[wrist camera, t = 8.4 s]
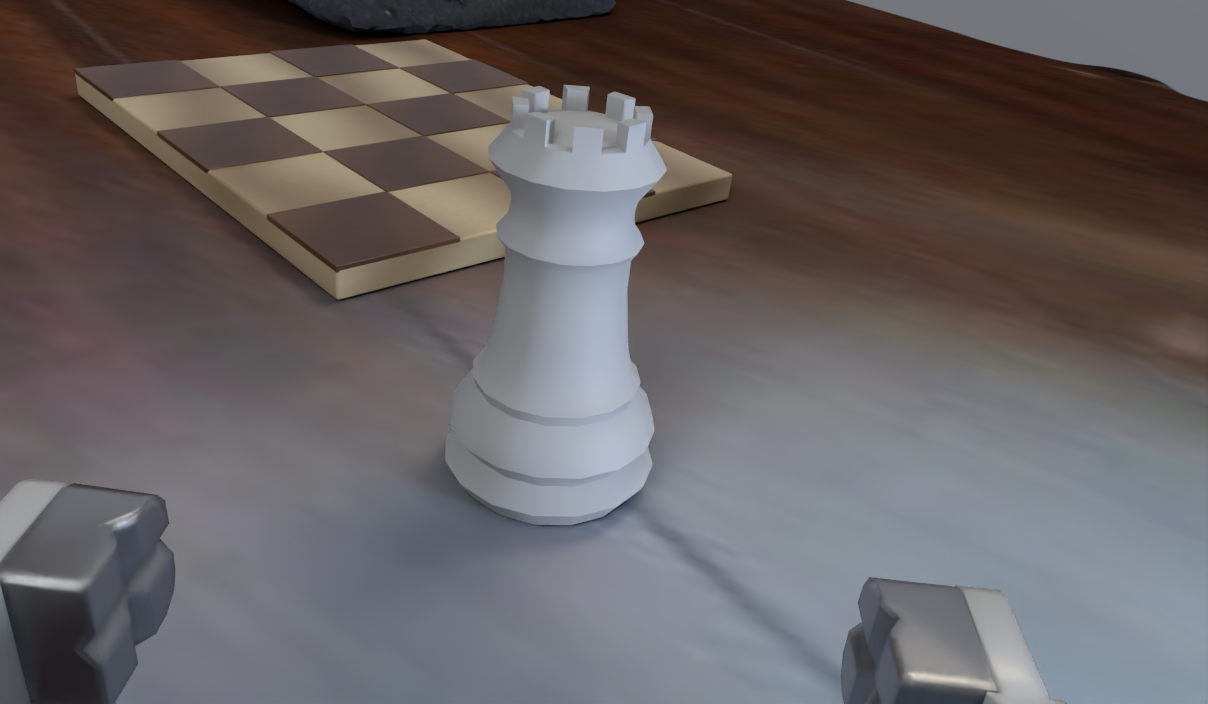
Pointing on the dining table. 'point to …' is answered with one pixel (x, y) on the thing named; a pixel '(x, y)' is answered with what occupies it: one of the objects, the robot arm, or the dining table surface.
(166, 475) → the dining table surface
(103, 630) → the robot arm
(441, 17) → the dark slate chunk
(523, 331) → the rook chess piece
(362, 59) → the chessboard
